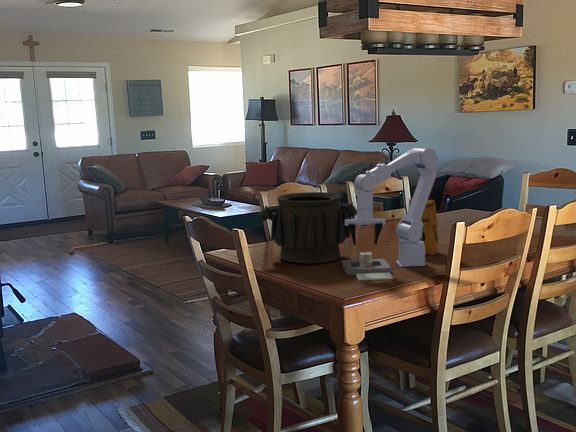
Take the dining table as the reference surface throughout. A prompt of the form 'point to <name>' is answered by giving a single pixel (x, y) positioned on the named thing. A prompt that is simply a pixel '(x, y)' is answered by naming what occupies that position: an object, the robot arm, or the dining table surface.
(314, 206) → the vessel
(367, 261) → the cream block
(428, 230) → the coffee package
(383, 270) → the holder plate
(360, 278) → the green tile
